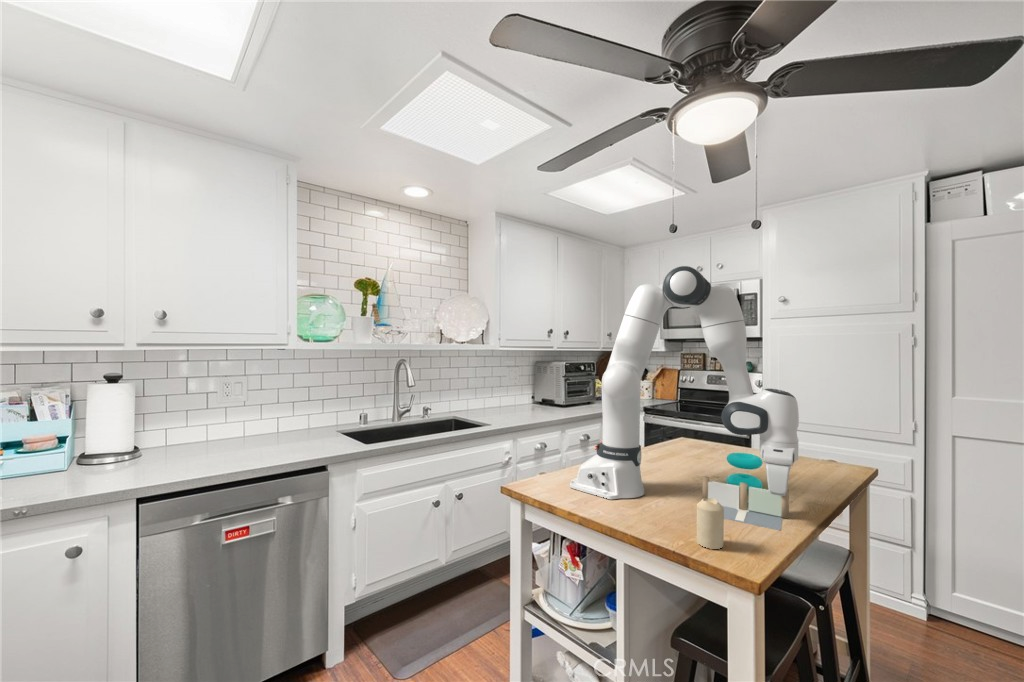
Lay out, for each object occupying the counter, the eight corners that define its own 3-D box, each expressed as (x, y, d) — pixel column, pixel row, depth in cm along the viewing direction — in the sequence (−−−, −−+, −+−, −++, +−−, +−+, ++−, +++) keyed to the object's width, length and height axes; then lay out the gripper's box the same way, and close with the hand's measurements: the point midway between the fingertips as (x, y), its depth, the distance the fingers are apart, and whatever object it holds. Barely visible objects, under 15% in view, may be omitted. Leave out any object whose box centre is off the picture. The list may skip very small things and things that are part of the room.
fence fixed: (701, 502, 124) (701, 477, 124) (702, 500, 126) (703, 475, 126) (746, 511, 118) (747, 485, 118) (747, 509, 119) (747, 483, 119)
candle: (715, 552, 95) (715, 506, 95) (691, 543, 99) (692, 498, 100) (728, 545, 98) (728, 501, 98) (705, 536, 103) (705, 494, 103)
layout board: (696, 514, 116) (696, 512, 116) (708, 495, 131) (708, 494, 131) (780, 531, 106) (780, 530, 106) (783, 509, 120) (783, 508, 120)
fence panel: (748, 510, 118) (748, 484, 118) (749, 508, 119) (749, 482, 119) (788, 518, 112) (788, 491, 112) (788, 516, 114) (789, 489, 114)
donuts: (734, 459, 134) (721, 451, 144) (733, 492, 134) (721, 481, 144) (768, 460, 133) (753, 452, 143) (768, 493, 133) (753, 483, 143)
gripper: (766, 441, 127) (766, 489, 127) (762, 456, 110) (762, 512, 110) (792, 444, 124) (791, 493, 124) (792, 460, 107) (792, 517, 107)
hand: (777, 502), depth 117 cm, fingers closed
